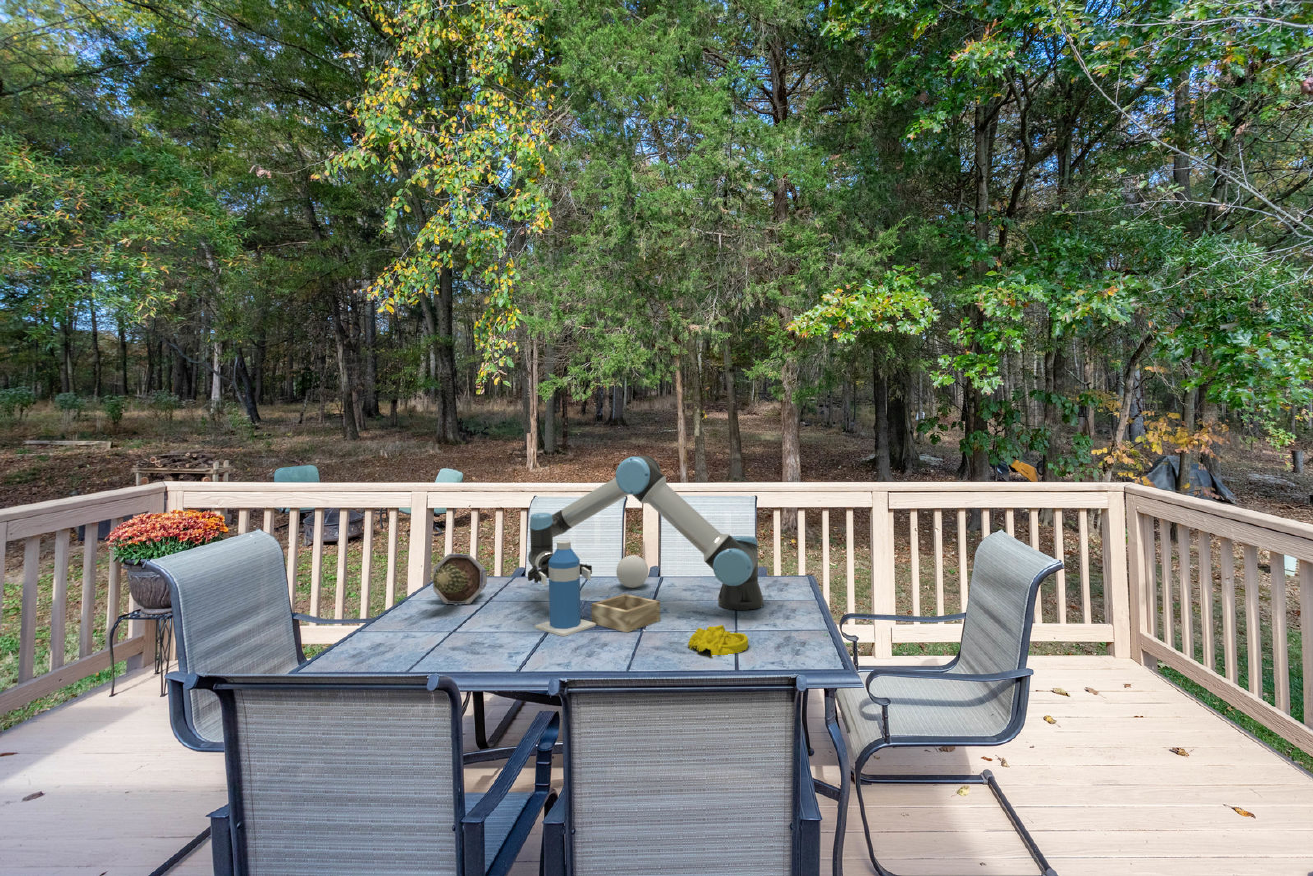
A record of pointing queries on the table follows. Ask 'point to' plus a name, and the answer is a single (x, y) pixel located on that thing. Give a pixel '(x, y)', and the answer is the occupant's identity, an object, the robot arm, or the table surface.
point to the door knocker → (718, 641)
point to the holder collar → (625, 612)
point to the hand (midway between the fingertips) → (567, 578)
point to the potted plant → (459, 579)
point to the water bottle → (564, 587)
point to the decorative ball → (632, 571)
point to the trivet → (565, 632)
